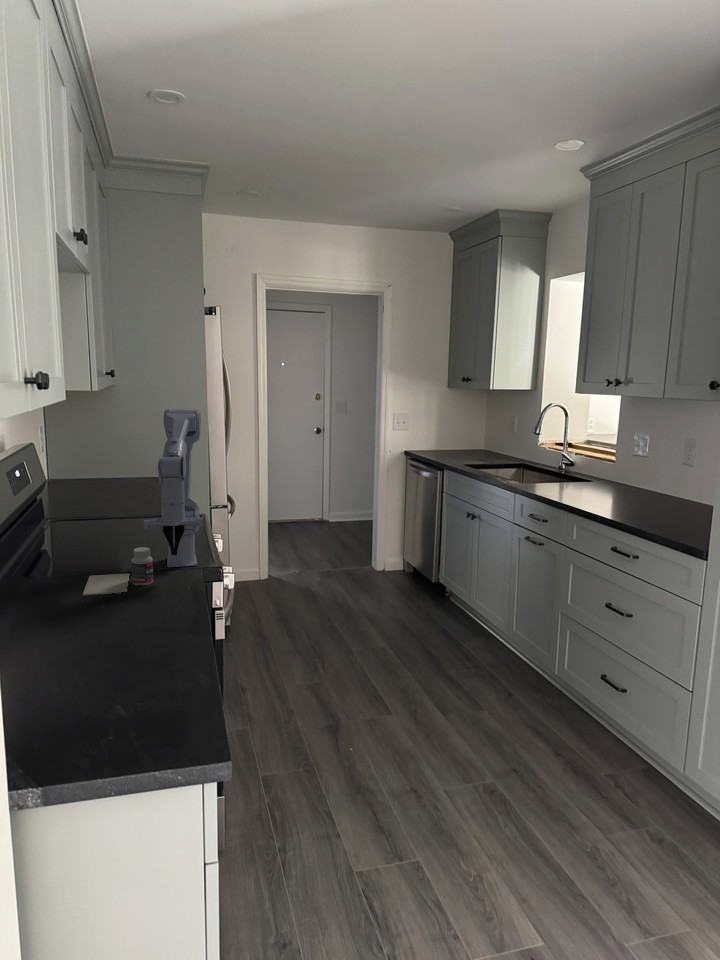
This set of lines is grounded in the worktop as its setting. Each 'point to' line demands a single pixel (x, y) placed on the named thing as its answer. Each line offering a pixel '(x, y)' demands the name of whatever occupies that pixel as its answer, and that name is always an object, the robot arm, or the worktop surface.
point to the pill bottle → (142, 567)
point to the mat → (106, 584)
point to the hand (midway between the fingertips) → (174, 554)
